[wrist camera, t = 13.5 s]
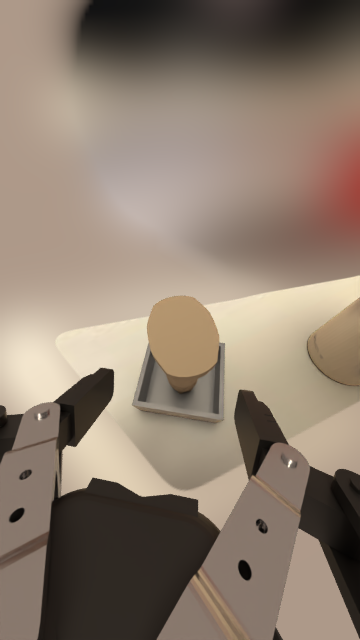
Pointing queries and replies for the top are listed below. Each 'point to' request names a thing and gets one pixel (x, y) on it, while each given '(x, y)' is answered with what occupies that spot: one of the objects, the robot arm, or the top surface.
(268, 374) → the top surface
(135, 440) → the top surface
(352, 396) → the top surface
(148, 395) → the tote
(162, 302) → the handle
